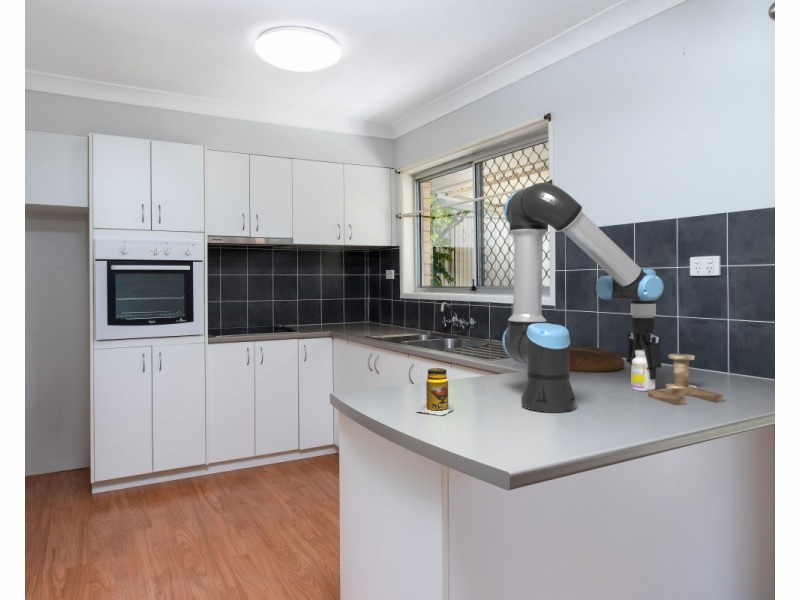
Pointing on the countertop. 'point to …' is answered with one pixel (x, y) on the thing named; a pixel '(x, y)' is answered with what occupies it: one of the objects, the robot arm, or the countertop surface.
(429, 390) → the condiment
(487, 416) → the countertop surface
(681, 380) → the bobbin
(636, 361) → the supplement bottle
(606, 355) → the bread
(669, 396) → the notch board
